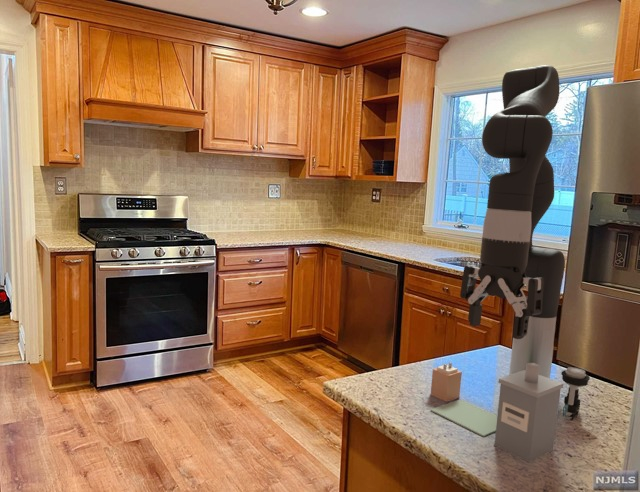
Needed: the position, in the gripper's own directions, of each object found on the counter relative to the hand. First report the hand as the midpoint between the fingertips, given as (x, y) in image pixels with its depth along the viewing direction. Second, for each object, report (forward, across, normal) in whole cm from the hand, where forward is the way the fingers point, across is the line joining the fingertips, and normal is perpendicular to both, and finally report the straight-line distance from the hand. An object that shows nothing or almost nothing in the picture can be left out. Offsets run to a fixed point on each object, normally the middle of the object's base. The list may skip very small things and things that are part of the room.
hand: (495, 331), depth 89 cm
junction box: (+22, -2, -10) cm, 25 cm away
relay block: (+22, +21, -16) cm, 34 cm away
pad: (+22, +11, -12) cm, 28 cm away
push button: (+22, 0, -31) cm, 38 cm away
